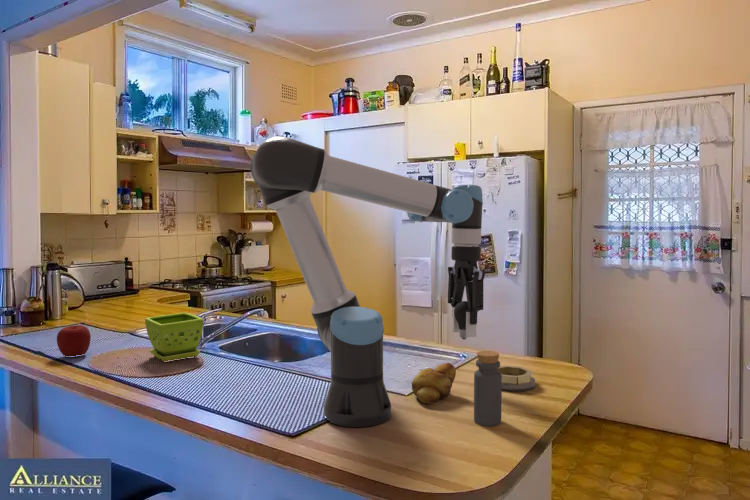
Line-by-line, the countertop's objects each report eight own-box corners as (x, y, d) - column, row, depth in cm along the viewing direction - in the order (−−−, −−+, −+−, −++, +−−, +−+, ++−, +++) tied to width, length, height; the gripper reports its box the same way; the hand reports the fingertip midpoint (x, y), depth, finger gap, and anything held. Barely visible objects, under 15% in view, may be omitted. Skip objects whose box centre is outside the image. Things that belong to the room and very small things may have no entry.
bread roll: (438, 409, 127) (438, 375, 126) (400, 402, 132) (400, 369, 131) (458, 393, 138) (458, 361, 138) (423, 387, 143) (423, 357, 142)
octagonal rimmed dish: (506, 394, 137) (506, 380, 136) (478, 381, 148) (478, 368, 147) (545, 387, 142) (545, 374, 142) (515, 375, 153) (515, 362, 152)
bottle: (484, 428, 115) (484, 357, 114) (468, 418, 121) (468, 351, 120) (506, 423, 118) (507, 354, 117) (490, 414, 123) (491, 348, 122)
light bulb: (474, 342, 140) (475, 303, 140) (452, 340, 142) (453, 302, 141) (475, 337, 146) (476, 300, 145) (453, 336, 147) (454, 299, 146)
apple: (53, 361, 169) (51, 329, 169) (63, 353, 179) (61, 323, 178) (86, 359, 172) (85, 327, 171) (94, 351, 181) (93, 321, 180)
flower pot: (145, 357, 174) (143, 317, 173) (188, 349, 183) (187, 311, 182) (160, 366, 164) (159, 324, 163) (205, 358, 173) (204, 317, 172)
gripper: (500, 247, 135) (497, 340, 137) (458, 243, 152) (456, 326, 154) (474, 247, 132) (472, 343, 134) (435, 243, 149) (433, 328, 151)
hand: (463, 333), depth 144 cm, fingers closed on light bulb, 6 cm apart
